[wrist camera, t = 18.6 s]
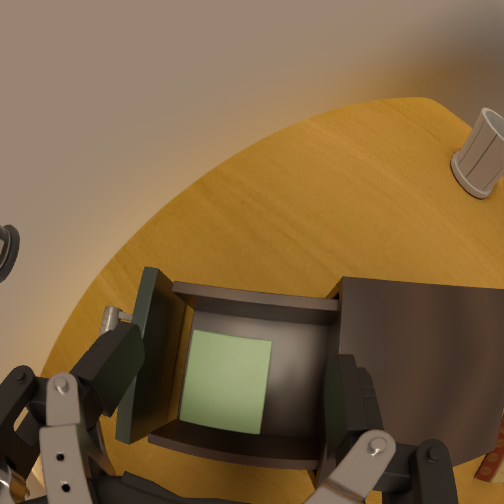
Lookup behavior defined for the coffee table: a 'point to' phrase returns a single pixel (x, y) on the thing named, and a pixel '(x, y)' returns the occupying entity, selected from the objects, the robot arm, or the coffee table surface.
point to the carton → (494, 462)
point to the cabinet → (426, 361)
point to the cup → (481, 155)
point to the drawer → (243, 325)
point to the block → (226, 381)
